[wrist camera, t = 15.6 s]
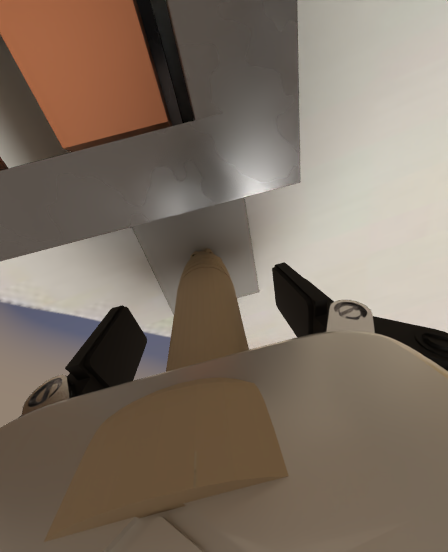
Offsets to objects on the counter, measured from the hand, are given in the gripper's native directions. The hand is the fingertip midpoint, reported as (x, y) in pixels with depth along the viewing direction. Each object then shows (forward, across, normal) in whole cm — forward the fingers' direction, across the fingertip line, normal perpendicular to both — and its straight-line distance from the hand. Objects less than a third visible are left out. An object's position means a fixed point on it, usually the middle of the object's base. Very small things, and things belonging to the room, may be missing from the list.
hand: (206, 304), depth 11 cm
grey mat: (+7, 0, 0) cm, 7 cm away
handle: (+7, 0, 0) cm, 7 cm away
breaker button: (+6, +2, -13) cm, 14 cm away
